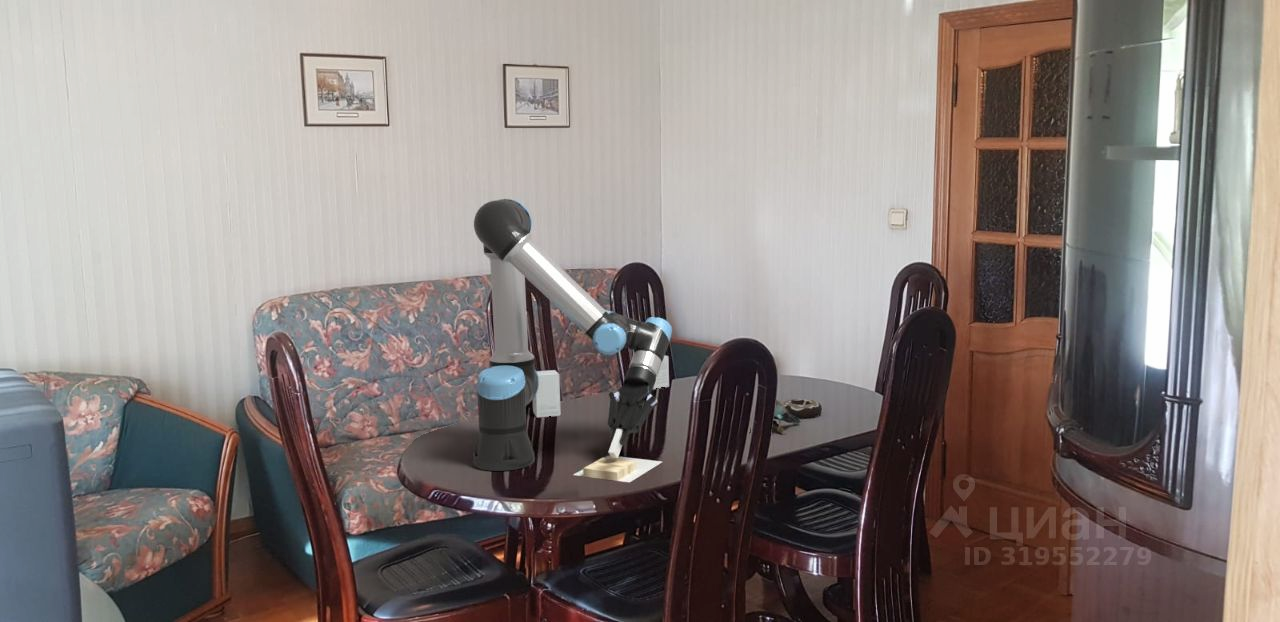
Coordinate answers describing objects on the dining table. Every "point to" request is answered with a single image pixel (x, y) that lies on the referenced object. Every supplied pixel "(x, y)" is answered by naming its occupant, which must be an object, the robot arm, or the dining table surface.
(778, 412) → the bird figurine
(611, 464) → the birch slab
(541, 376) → the supplement box
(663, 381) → the small box
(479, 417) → the robot arm
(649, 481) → the dining table surface
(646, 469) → the rubber mat
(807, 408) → the donut
